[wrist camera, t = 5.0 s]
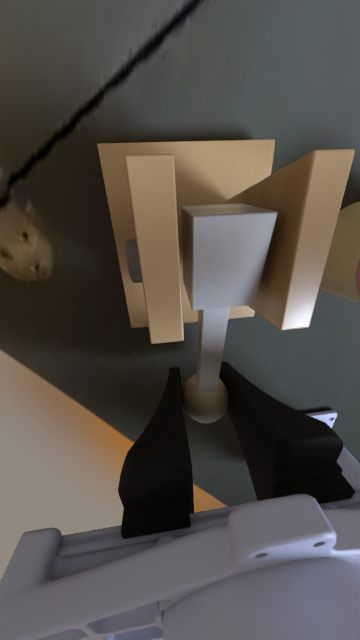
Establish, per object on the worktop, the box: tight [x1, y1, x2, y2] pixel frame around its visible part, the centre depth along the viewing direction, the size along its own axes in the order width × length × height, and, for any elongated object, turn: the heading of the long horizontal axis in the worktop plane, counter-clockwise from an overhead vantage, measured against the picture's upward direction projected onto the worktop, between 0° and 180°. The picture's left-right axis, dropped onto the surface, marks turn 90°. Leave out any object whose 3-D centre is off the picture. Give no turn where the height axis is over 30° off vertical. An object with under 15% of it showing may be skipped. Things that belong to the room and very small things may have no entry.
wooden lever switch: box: [97, 139, 355, 344], centre depth 8 cm, size 10×9×8 cm
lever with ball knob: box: [181, 203, 277, 423], centre depth 9 cm, size 12×3×3 cm, turn 3°
